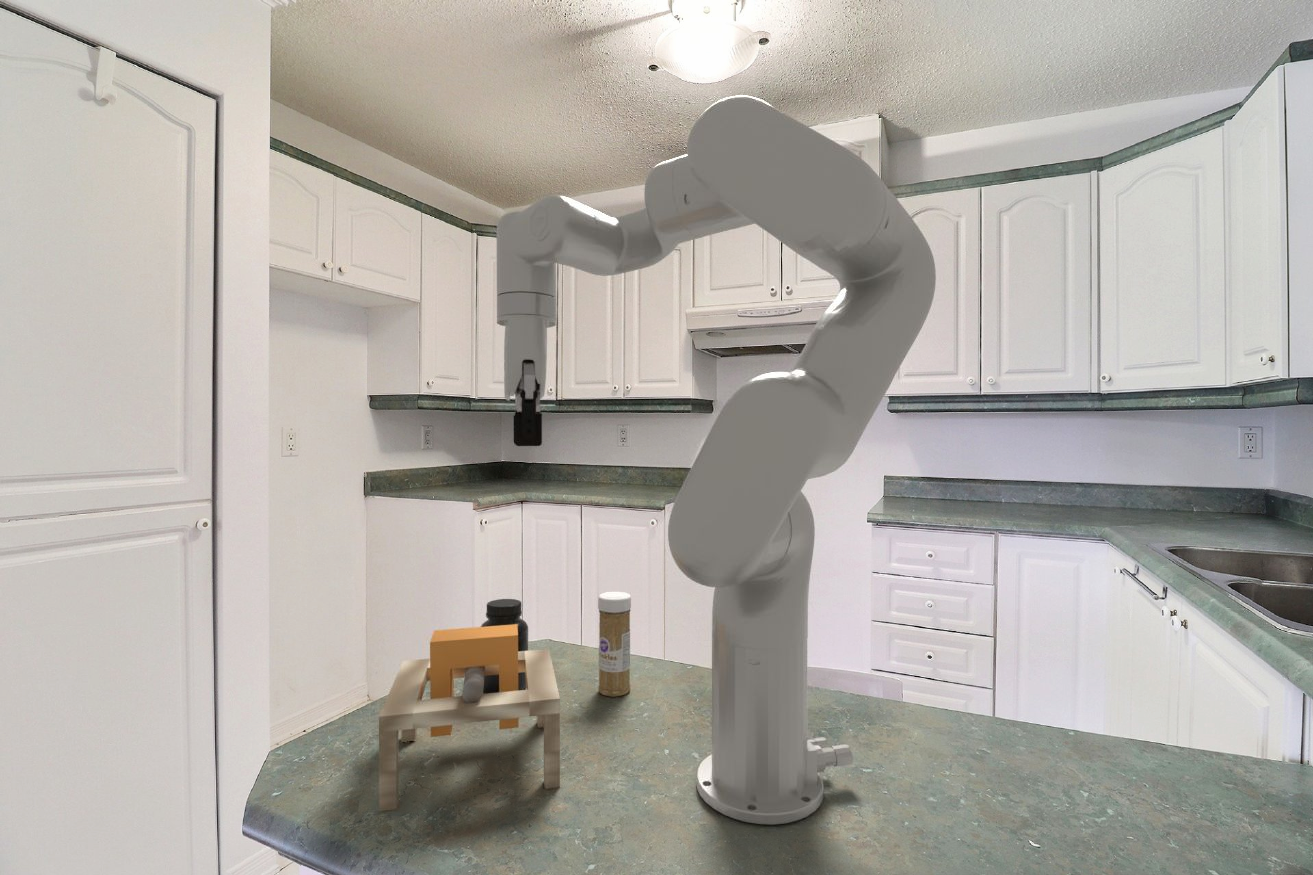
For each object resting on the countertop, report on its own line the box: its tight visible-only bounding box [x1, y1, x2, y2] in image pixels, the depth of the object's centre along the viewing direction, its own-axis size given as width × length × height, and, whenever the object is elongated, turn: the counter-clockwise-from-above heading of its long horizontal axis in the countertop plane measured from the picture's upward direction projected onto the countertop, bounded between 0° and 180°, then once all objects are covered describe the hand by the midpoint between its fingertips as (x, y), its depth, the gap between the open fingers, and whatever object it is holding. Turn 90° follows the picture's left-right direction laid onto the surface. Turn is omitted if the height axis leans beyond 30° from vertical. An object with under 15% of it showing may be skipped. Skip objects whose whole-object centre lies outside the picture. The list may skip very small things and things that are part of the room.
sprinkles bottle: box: [597, 591, 632, 698], centre depth 87 cm, size 5×5×14 cm
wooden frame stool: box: [378, 648, 561, 812], centre depth 69 cm, size 17×15×11 cm
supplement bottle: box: [480, 598, 529, 694], centre depth 88 cm, size 7×7×12 cm
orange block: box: [429, 624, 520, 738], centre depth 69 cm, size 9×4×10 cm, turn 103°
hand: (526, 445), depth 81 cm, fingers open, 9 cm apart
